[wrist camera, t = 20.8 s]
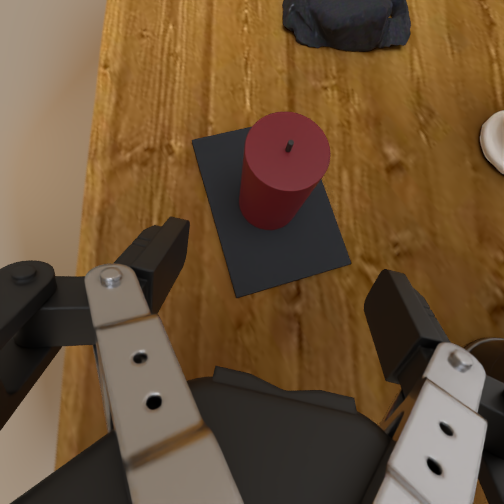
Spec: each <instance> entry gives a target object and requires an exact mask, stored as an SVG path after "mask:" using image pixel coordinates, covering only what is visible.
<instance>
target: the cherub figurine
mask: <svg viewBox="0 0 504 504" xmlns="http://www.w3.org/2000/svg"><path fill="white" fill-rule="evenodd" d="M479 138H480V142H481V147H482V150H483V153H484V155H485V157H486V158H487V160H488V161H489V162H490V163H491V164H493V165H494V166H495V167H496V168H497V170H499V171H500V172H501V173H502V174H504V110H502V111H499V112H497V113H495V114H493V115H492V116H491V117H490V118H489V119H488V120H487V121H486V122H485V123H484V124H483V125H482V129H481V135H480V137H479Z"/></svg>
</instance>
